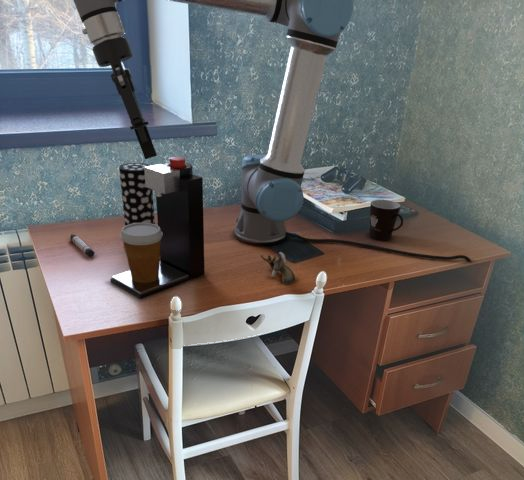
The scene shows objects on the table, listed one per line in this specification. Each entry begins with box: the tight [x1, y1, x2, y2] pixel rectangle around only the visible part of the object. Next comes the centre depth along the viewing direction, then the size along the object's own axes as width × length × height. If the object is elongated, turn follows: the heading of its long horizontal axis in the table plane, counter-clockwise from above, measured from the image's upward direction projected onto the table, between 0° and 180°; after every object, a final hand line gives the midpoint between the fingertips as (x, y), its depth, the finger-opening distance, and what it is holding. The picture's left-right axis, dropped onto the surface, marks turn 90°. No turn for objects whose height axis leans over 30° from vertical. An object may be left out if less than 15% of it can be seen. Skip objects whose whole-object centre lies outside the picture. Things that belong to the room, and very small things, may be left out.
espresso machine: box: [109, 163, 192, 300], centre depth 123 cm, size 12×15×26 cm
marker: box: [70, 234, 95, 258], centre depth 145 cm, size 15×2×2 cm, turn 35°
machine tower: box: [155, 162, 206, 281], centre depth 129 cm, size 12×6×26 cm, turn 47°
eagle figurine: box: [260, 251, 296, 285], centre depth 133 cm, size 8×7×9 cm
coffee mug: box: [368, 199, 404, 242], centre depth 158 cm, size 12×9×10 cm
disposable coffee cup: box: [119, 223, 163, 283], centre depth 125 cm, size 10×10×12 cm
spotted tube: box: [118, 162, 156, 226], centre depth 147 cm, size 8×8×20 cm
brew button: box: [168, 156, 186, 168], centre depth 122 cm, size 4×4×2 cm
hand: (151, 157), depth 120 cm, fingers closed
